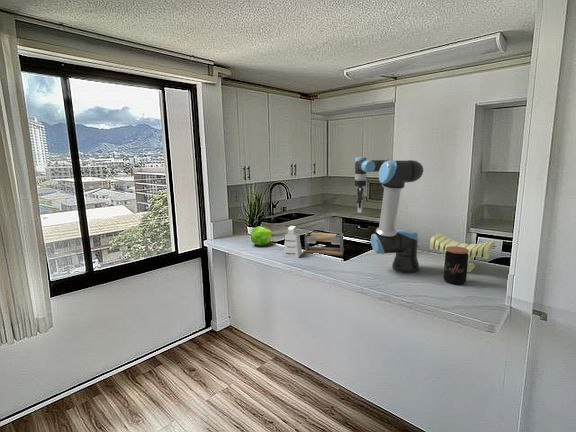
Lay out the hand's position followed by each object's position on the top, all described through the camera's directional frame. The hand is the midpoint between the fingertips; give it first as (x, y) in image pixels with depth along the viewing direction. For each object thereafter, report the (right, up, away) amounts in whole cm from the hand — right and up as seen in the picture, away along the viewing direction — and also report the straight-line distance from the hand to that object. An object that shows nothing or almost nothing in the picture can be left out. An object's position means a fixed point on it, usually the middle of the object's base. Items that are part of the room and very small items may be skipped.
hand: (359, 210), depth 223 cm
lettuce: (-69, -26, +26) cm, 79 cm away
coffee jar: (+39, -39, -52) cm, 76 cm away
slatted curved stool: (+52, -35, -32) cm, 70 cm away
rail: (-25, -21, +3) cm, 33 cm away
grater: (-47, -31, -2) cm, 56 cm away
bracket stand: (-24, -29, +4) cm, 38 cm away
